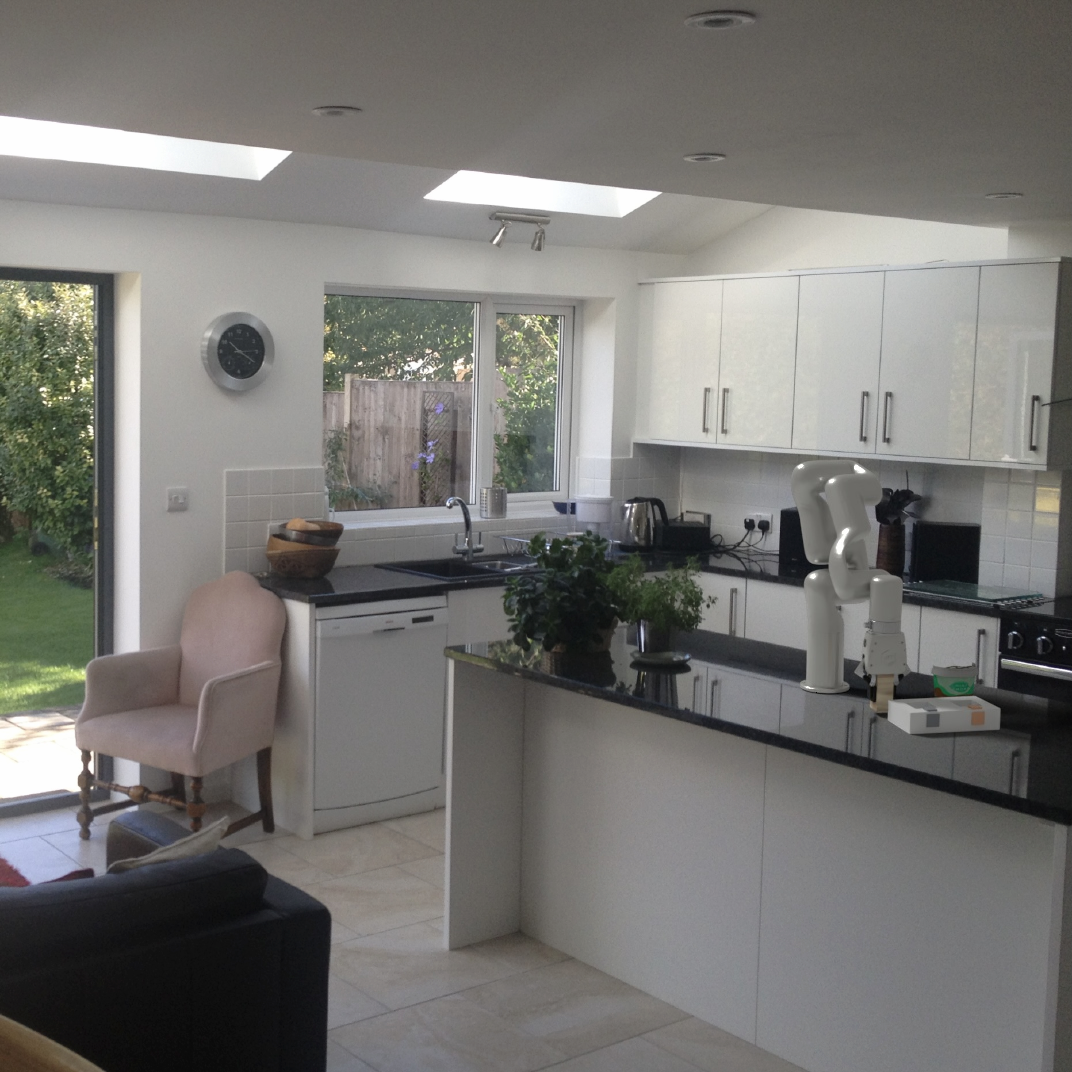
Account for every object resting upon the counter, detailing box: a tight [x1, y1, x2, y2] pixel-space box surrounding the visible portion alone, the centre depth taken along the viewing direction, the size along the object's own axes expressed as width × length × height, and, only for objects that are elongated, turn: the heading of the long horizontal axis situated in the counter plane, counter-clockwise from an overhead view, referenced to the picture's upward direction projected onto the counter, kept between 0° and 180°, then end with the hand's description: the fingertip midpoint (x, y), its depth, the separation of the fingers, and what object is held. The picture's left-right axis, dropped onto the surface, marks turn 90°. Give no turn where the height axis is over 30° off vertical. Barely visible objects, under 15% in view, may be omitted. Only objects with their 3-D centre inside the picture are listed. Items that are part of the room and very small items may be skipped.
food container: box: [930, 662, 979, 698], centre depth 316 cm, size 12×6×10 cm, turn 105°
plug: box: [869, 674, 894, 713], centre depth 308 cm, size 4×4×10 cm
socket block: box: [887, 695, 1001, 735], centre depth 298 cm, size 12×22×5 cm, turn 99°
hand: (881, 699), depth 309 cm, fingers closed on plug, 4 cm apart
